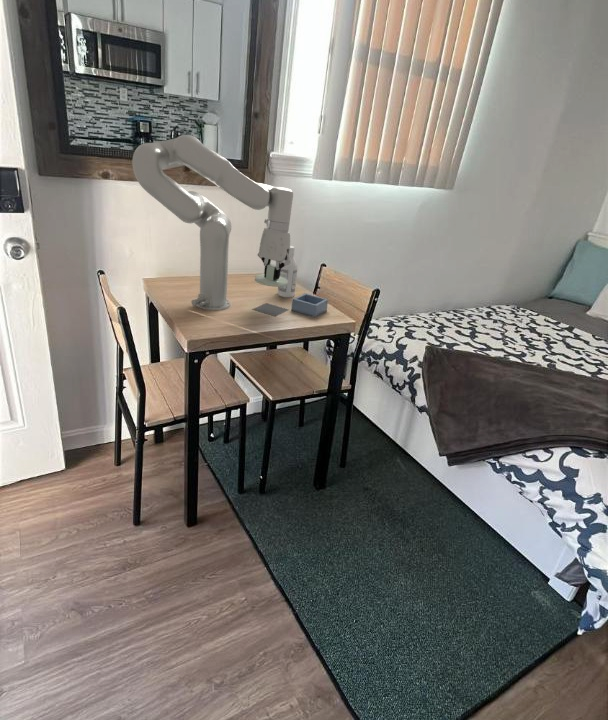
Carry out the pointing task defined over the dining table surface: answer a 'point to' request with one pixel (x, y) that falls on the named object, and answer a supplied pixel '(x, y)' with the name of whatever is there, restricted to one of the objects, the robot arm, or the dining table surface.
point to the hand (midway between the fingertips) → (271, 277)
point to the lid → (270, 278)
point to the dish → (309, 305)
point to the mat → (270, 309)
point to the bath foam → (289, 276)
